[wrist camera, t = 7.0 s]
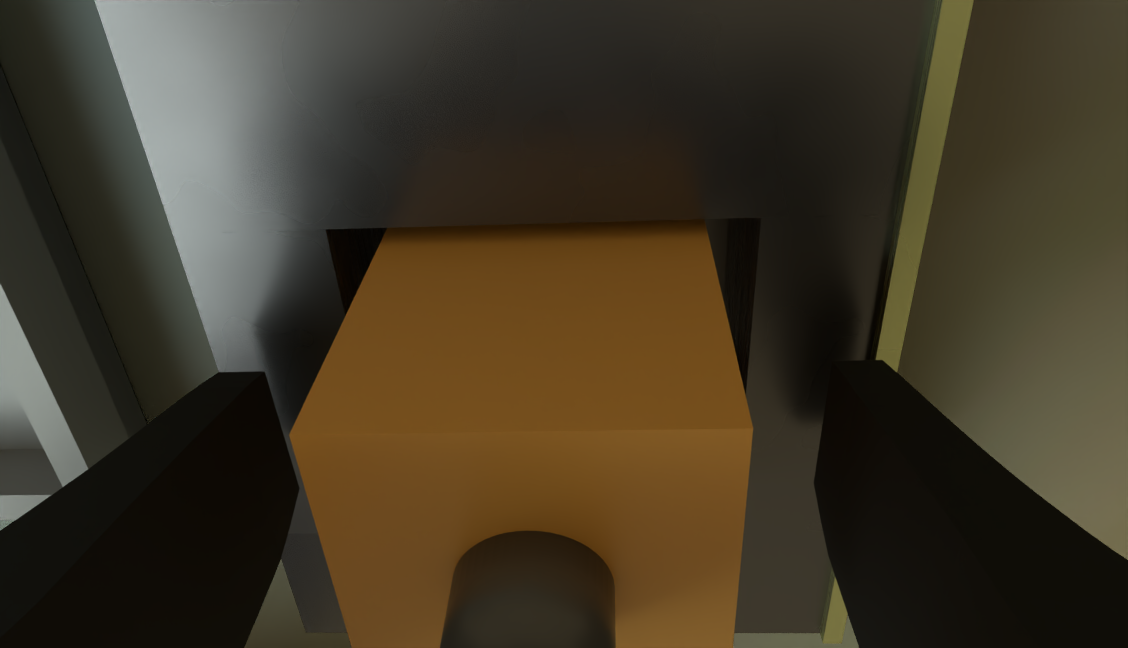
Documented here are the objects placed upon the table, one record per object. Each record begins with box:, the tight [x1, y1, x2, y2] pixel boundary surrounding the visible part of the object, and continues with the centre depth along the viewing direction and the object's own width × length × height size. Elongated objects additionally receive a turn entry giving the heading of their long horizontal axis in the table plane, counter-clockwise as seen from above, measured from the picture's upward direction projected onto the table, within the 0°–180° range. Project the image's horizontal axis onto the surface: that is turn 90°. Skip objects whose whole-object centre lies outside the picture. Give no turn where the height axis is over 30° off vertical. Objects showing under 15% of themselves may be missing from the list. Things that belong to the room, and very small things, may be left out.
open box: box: [95, 0, 974, 643], centre depth 10 cm, size 19×9×3 cm, turn 3°
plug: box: [289, 219, 753, 648], centre depth 10 cm, size 4×4×7 cm
